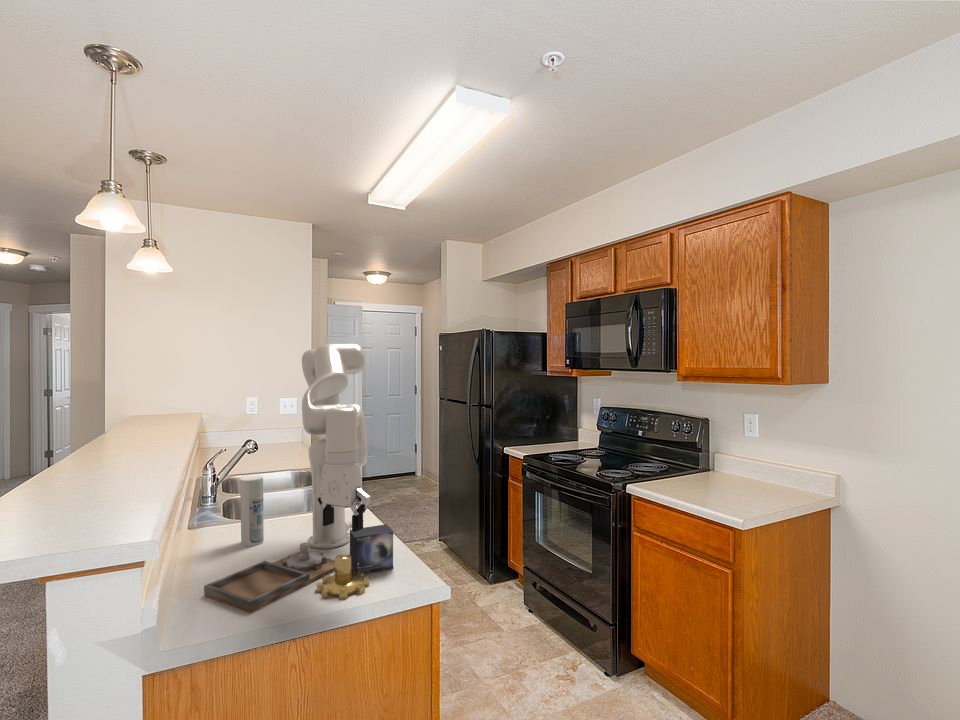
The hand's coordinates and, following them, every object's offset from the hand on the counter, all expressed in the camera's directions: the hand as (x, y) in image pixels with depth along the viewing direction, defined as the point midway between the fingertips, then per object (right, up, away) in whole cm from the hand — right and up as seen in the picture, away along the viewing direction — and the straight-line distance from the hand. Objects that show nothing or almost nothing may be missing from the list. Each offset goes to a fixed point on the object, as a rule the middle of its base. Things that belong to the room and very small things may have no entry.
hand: (342, 527), depth 128 cm
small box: (+5, -15, +12) cm, 20 cm away
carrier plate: (-18, -15, +5) cm, 24 cm away
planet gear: (0, -15, +1) cm, 15 cm away
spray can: (-36, -15, +32) cm, 50 cm away
